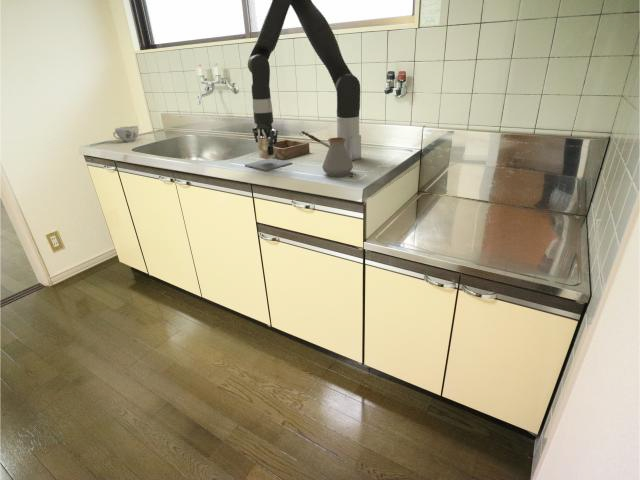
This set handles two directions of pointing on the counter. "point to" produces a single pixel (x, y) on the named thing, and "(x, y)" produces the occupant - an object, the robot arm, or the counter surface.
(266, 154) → the maple block
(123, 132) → the teacup
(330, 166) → the coffee pot
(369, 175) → the counter surface
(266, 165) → the charcoal mat
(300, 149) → the walnut crate
